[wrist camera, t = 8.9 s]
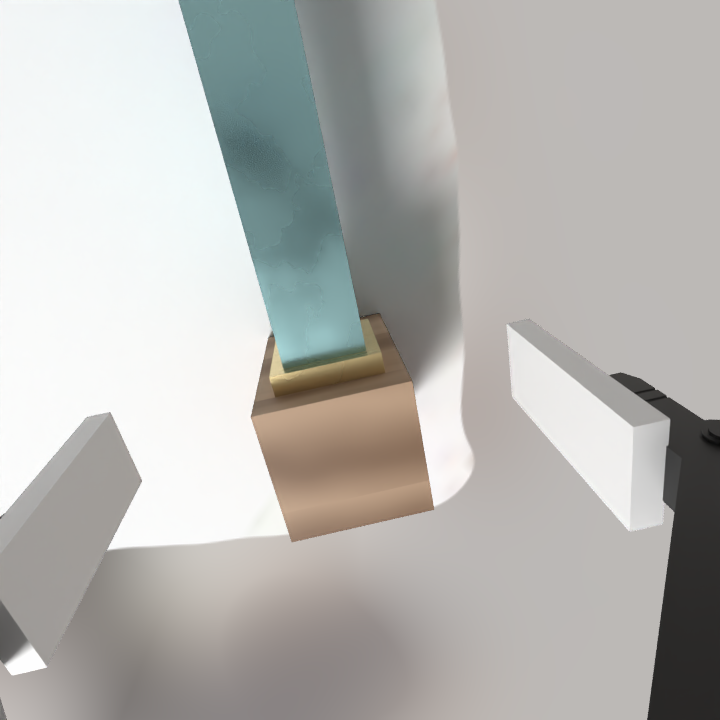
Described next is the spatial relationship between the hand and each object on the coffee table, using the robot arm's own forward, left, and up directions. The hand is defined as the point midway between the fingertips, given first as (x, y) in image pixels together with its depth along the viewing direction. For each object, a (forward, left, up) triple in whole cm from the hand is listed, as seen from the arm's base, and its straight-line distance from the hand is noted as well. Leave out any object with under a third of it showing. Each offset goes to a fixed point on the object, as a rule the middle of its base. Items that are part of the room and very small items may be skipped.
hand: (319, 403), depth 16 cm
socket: (+7, 0, -18) cm, 20 cm away
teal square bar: (-6, 0, -14) cm, 15 cm away
